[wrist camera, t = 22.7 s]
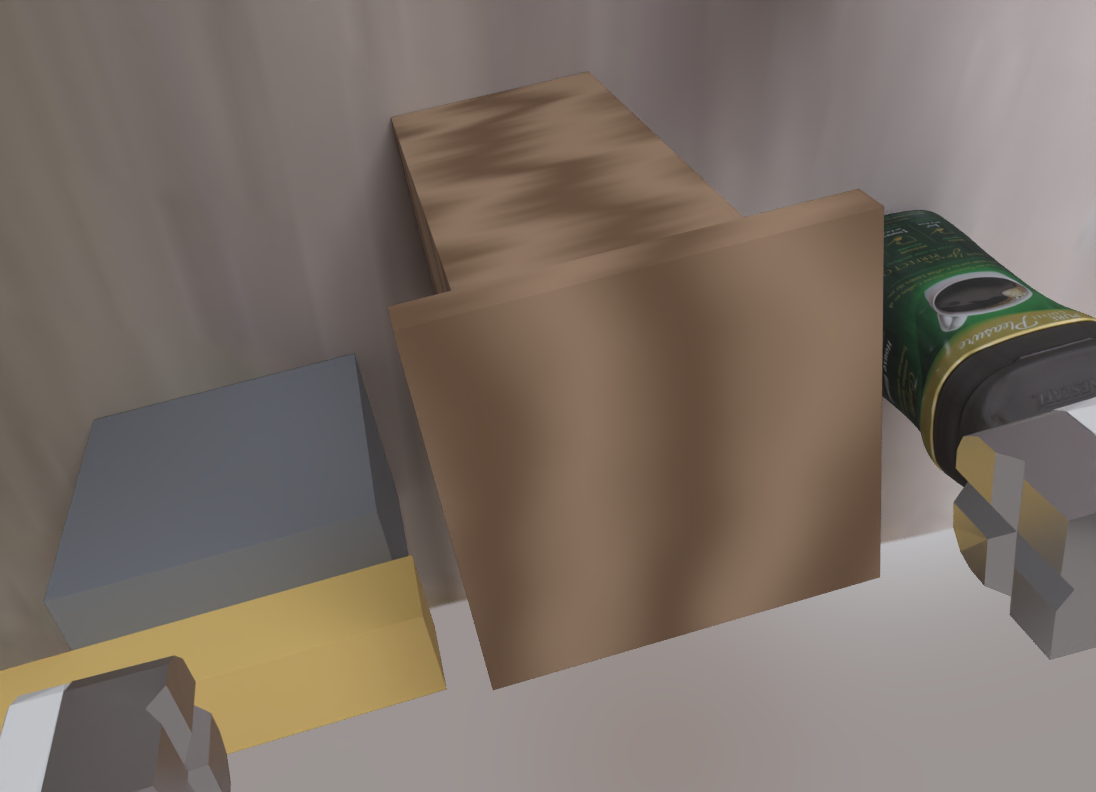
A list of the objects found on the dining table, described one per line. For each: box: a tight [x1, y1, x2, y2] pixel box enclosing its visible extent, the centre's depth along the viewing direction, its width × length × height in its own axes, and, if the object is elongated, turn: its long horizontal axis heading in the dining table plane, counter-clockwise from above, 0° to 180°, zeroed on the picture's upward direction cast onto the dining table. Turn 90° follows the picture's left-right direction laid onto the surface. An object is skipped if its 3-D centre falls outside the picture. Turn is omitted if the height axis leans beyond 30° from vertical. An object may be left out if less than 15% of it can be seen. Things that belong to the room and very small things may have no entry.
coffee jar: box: [882, 210, 1096, 487], centre depth 54 cm, size 10×8×19 cm
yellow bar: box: [0, 555, 446, 754], centre depth 45 cm, size 22×4×4 cm, turn 100°
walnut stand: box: [388, 72, 884, 690], centre depth 43 cm, size 14×14×26 cm
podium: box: [44, 354, 408, 651], centre depth 53 cm, size 14×10×14 cm
